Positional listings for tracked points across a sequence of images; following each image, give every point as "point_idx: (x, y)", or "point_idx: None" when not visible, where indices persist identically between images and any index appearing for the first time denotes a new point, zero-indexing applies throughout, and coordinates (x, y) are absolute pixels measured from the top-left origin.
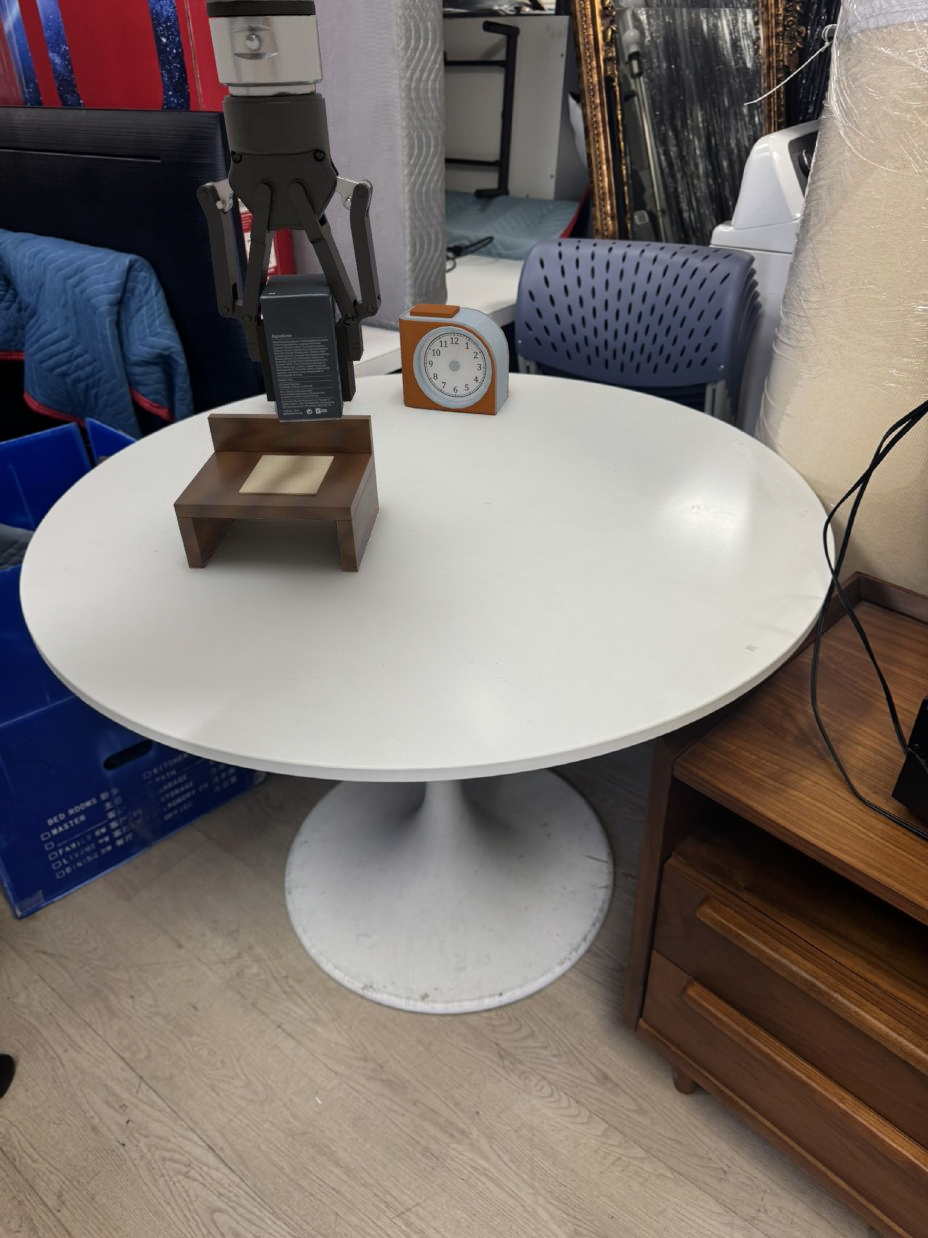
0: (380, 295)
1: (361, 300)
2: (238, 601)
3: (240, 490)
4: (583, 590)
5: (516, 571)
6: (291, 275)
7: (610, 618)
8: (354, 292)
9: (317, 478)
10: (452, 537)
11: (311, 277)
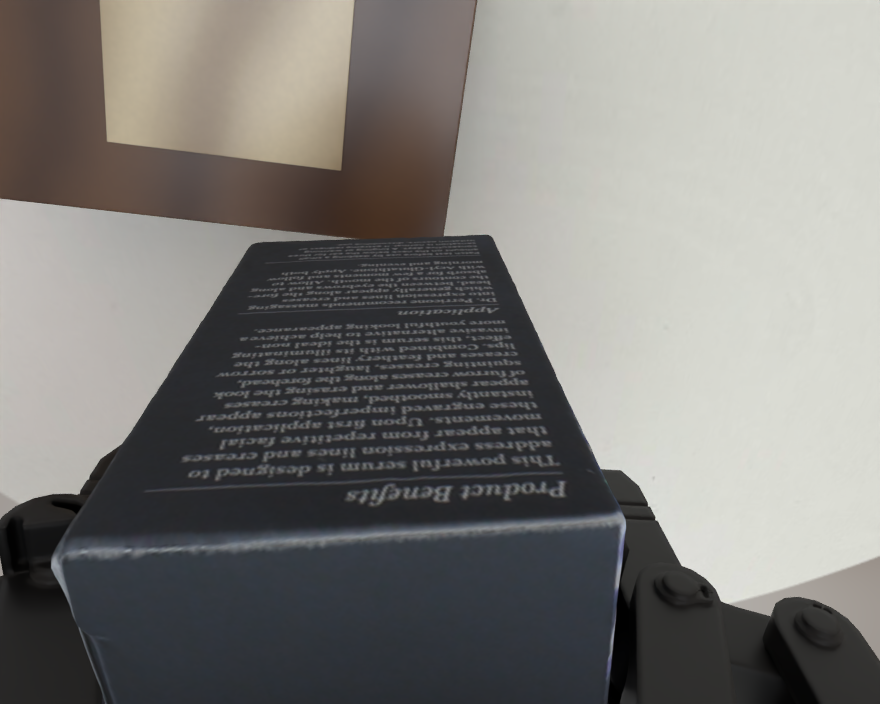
0: (876, 660)
1: (746, 677)
2: (195, 294)
3: (108, 130)
4: (861, 298)
5: (761, 223)
6: (266, 593)
7: (867, 381)
8: (729, 677)
9: (331, 68)
10: (657, 57)
11: (456, 682)
